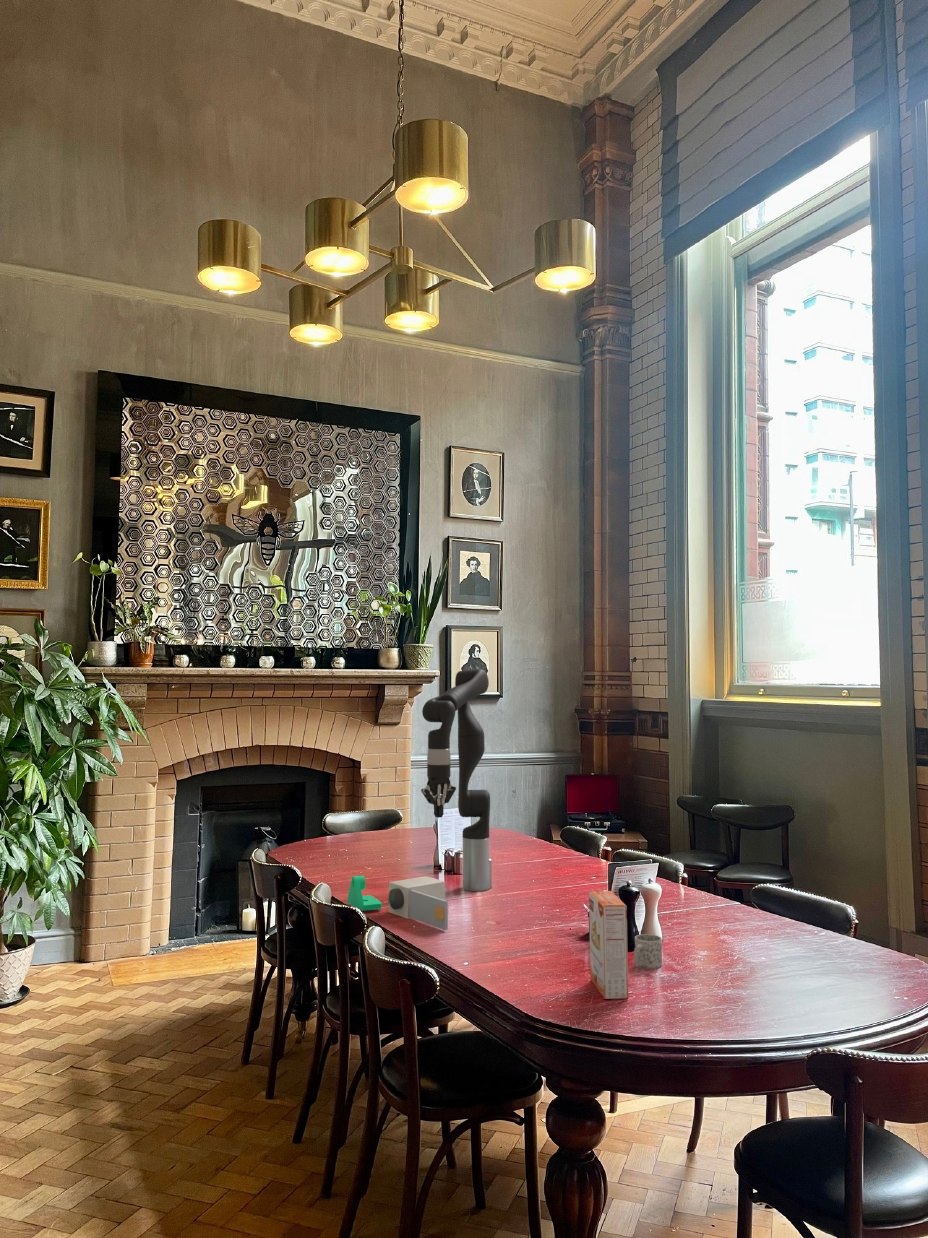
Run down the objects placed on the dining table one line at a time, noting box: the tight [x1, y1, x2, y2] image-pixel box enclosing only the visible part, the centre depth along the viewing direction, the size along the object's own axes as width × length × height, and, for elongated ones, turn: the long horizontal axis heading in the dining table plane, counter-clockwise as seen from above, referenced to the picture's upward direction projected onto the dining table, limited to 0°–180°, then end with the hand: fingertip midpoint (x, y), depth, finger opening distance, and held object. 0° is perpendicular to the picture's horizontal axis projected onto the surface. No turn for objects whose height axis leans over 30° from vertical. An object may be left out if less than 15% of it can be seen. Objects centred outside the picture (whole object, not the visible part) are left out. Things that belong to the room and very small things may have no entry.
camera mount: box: [347, 875, 383, 912], centre depth 287 cm, size 12×8×10 cm, turn 24°
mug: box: [633, 933, 663, 970], centre depth 229 cm, size 10×7×7 cm, turn 141°
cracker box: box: [588, 890, 629, 1000], centre depth 212 cm, size 14×6×21 cm, turn 5°
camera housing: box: [388, 875, 446, 920], centre depth 282 cm, size 16×10×9 cm, turn 129°
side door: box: [409, 890, 449, 931], centre depth 267 cm, size 18×2×8 cm, turn 38°
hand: (438, 817), depth 295 cm, fingers closed
